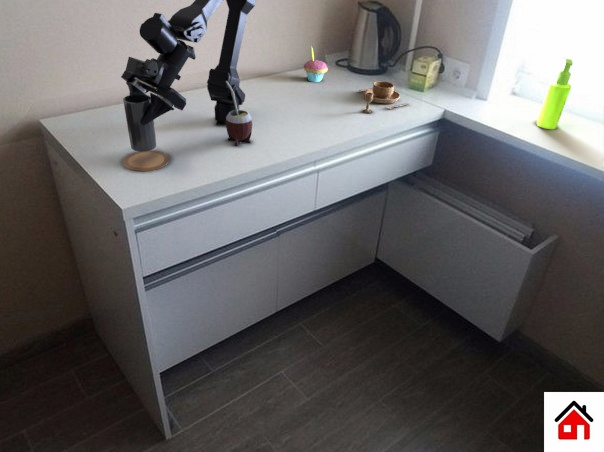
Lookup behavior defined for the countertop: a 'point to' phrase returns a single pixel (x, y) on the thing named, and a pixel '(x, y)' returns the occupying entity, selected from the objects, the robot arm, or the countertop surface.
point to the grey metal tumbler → (139, 123)
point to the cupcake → (315, 69)
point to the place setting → (381, 94)
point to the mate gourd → (238, 124)
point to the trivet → (145, 160)
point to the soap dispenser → (555, 98)
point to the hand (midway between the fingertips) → (134, 120)
